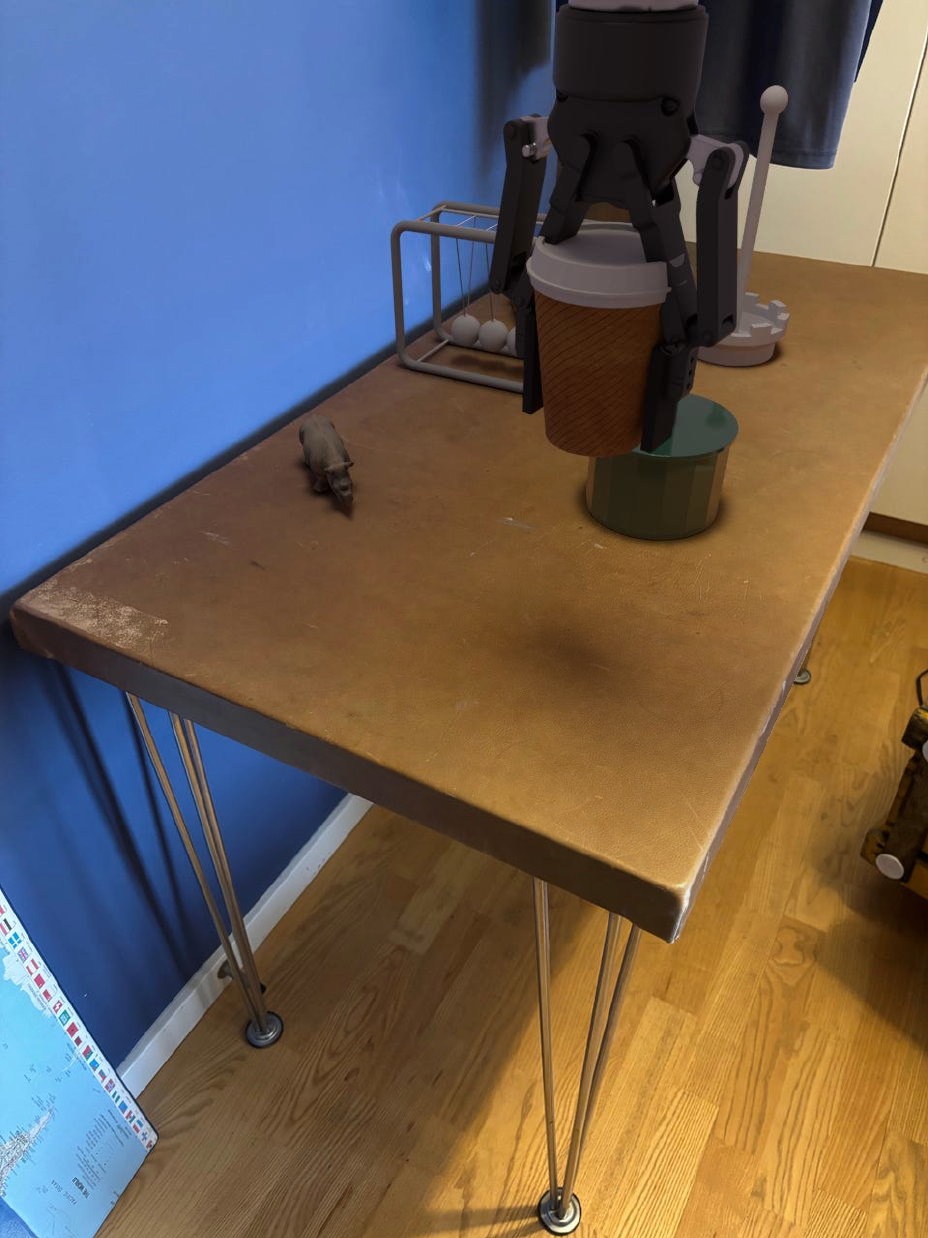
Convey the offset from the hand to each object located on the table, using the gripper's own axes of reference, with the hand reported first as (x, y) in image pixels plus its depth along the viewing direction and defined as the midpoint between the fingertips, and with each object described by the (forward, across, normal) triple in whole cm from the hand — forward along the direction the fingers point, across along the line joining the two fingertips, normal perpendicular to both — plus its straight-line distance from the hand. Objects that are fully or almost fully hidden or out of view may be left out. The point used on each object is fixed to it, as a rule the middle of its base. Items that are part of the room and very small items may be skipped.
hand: (594, 423), depth 59 cm
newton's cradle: (+20, -34, +42) cm, 57 cm away
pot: (+20, -6, +24) cm, 32 cm away
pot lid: (+12, -6, +24) cm, 28 cm away
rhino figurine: (+20, -34, +8) cm, 40 cm away
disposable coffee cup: (+1, 0, 0) cm, 1 cm away
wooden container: (+20, -47, +82) cm, 97 cm away
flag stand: (+20, -16, +64) cm, 69 cm away
